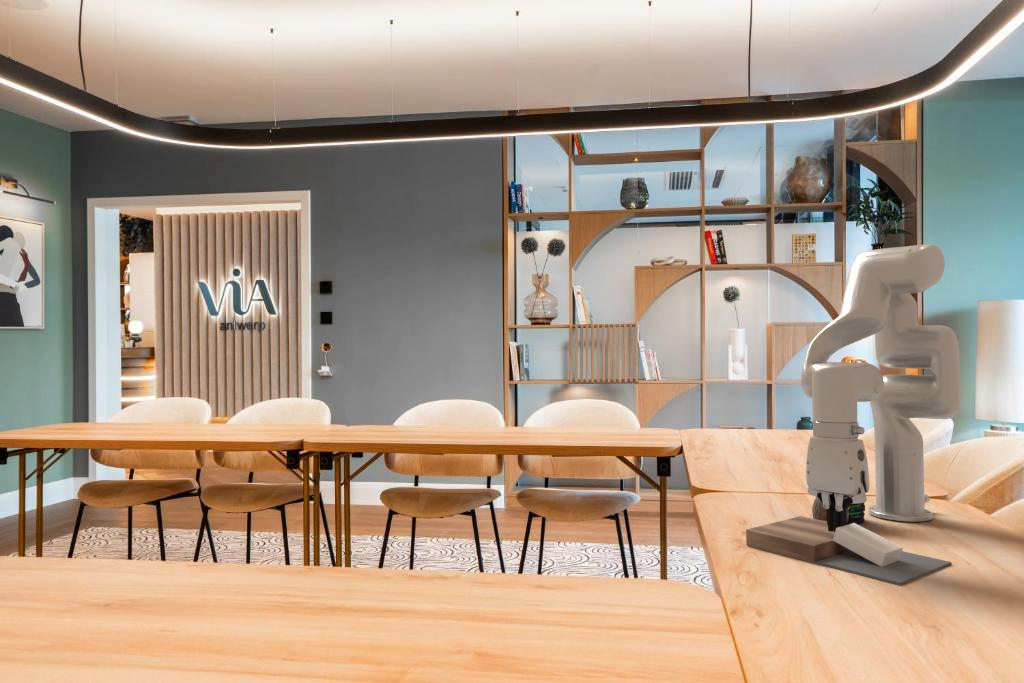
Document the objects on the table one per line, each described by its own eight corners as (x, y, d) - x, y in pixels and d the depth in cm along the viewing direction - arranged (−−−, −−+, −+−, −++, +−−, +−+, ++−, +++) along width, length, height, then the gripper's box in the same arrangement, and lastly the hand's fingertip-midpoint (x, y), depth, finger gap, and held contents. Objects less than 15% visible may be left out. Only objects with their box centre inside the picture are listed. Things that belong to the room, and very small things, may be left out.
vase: (805, 527, 145) (804, 485, 145) (828, 523, 148) (827, 482, 148) (832, 535, 139) (831, 491, 139) (856, 531, 141) (855, 488, 142)
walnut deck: (800, 530, 142) (800, 516, 142) (868, 545, 131) (867, 529, 131) (746, 545, 132) (746, 529, 132) (814, 563, 120) (814, 545, 120)
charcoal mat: (870, 546, 130) (870, 544, 130) (951, 564, 119) (951, 562, 119) (817, 563, 120) (816, 561, 120) (899, 585, 109) (899, 582, 109)
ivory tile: (850, 535, 127) (854, 522, 127) (899, 560, 120) (902, 547, 120) (832, 540, 124) (836, 527, 123) (881, 566, 117) (885, 553, 116)
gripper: (886, 433, 123) (888, 536, 122) (809, 426, 135) (811, 520, 135) (864, 436, 118) (866, 543, 118) (786, 429, 131) (788, 525, 130)
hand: (836, 530), depth 126 cm, fingers closed
